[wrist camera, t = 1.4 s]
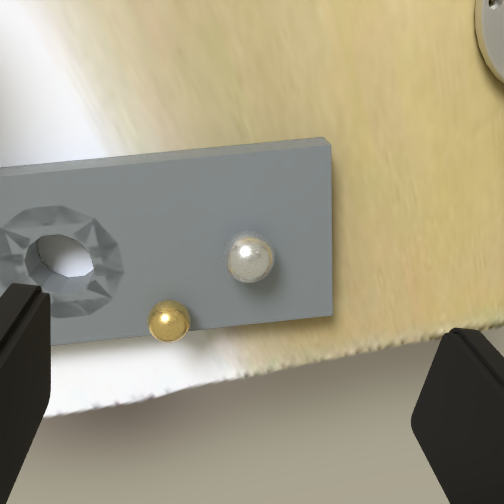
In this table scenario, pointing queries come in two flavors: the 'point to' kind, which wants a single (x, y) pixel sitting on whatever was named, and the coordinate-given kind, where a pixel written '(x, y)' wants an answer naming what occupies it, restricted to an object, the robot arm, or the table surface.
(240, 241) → the ball
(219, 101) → the table surface
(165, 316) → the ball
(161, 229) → the hole board
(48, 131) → the table surface
